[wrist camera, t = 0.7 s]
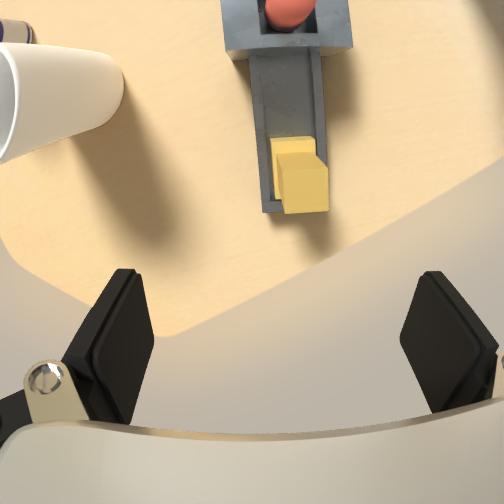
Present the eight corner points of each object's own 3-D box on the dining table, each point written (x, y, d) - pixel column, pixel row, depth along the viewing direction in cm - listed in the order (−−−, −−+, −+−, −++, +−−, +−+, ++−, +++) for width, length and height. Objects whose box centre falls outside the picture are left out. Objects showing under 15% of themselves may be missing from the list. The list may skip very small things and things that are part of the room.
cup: (136, 105, 27) (37, 128, 13) (73, 143, 28) (-34, 195, 14) (107, 37, 23) (-2, 14, 9) (46, 80, 25) (-68, 97, 10)
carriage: (310, 136, 27) (332, 153, 20) (312, 188, 29) (332, 224, 22) (269, 138, 27) (276, 156, 20) (274, 191, 29) (281, 227, 22)
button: (302, -3, 18) (313, -22, 14) (306, 31, 19) (318, 18, 15) (262, -2, 18) (264, -22, 14) (266, 32, 20) (269, 18, 15)
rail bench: (324, -1, 22) (344, -24, 16) (336, 196, 31) (356, 224, 25) (225, 3, 22) (218, -21, 16) (246, 203, 32) (244, 233, 25)
